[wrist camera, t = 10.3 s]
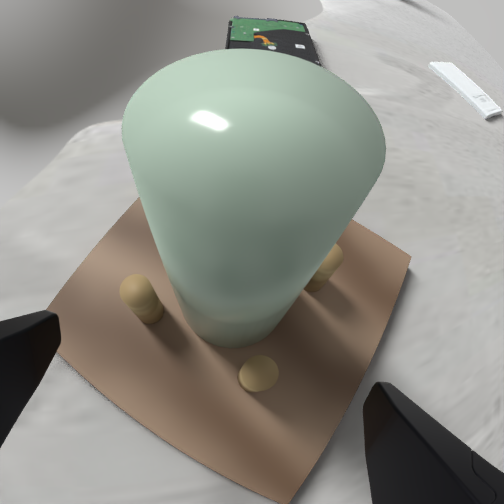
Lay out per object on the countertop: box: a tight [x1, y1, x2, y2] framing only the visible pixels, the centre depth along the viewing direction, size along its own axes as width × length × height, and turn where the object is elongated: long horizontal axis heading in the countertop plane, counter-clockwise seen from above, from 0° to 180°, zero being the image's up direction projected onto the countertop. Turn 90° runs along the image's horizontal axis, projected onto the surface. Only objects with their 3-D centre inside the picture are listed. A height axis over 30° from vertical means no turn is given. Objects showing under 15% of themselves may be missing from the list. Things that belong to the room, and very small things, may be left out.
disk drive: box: [225, 16, 321, 67], centre depth 32 cm, size 10×3×15 cm
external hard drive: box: [428, 62, 502, 119], centre depth 37 cm, size 2×8×12 cm
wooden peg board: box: [46, 197, 411, 504], centre depth 17 cm, size 18×18×5 cm
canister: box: [122, 49, 386, 348], centre depth 12 cm, size 6×6×13 cm
